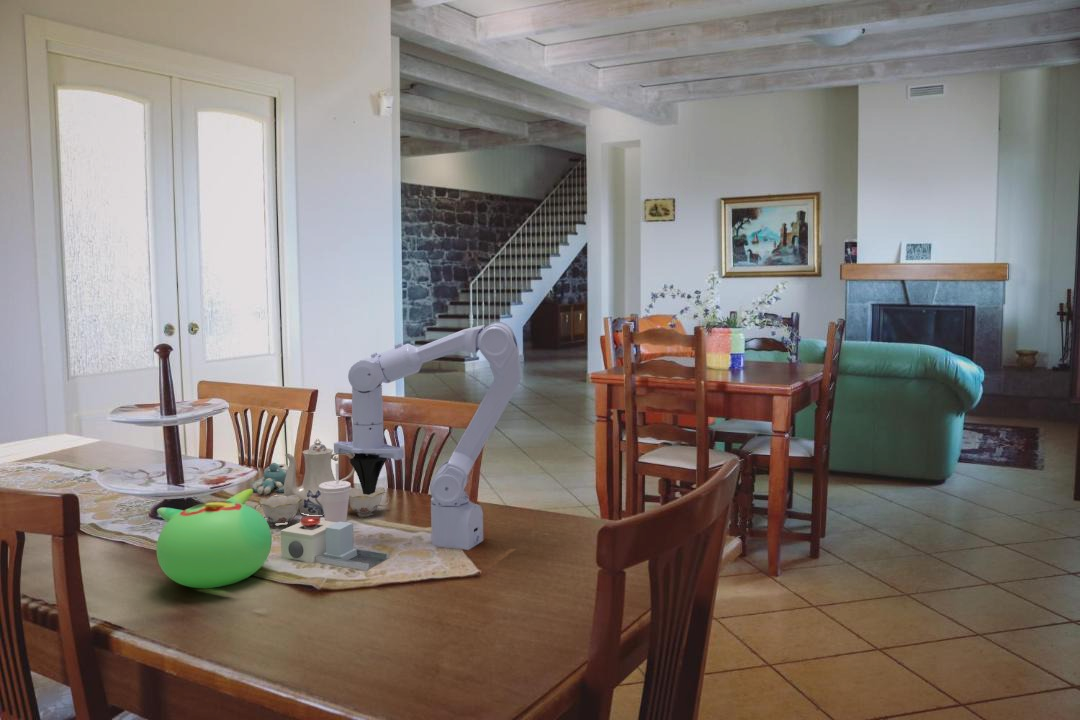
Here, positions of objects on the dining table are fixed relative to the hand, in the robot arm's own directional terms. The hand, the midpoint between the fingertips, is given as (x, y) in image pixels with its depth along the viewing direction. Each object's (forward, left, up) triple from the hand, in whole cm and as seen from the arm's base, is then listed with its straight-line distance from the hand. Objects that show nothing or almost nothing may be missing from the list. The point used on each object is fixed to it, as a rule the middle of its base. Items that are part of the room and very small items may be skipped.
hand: (369, 493), depth 159 cm
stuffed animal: (+46, -25, -11) cm, 53 cm away
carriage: (-1, +10, -9) cm, 14 cm away
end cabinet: (+6, +10, -10) cm, 16 cm away
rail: (-3, +10, -10) cm, 15 cm away
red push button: (+6, +10, -8) cm, 14 cm away
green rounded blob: (+13, +26, -11) cm, 31 cm away
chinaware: (+22, -13, -11) cm, 28 cm away
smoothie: (+12, -5, -11) cm, 17 cm away
